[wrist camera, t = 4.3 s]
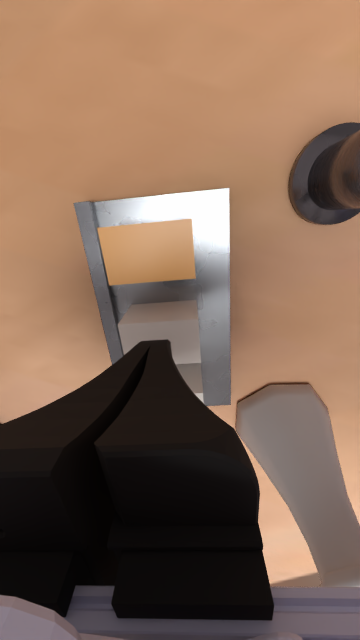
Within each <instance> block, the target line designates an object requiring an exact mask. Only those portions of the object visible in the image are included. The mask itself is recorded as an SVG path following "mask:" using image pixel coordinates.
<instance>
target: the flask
mask: <svg viewBox="0 0 360 640" xmlns="http://www.w3.org/2000/svg"><path fill="white" fill-rule="evenodd" d="M236 432H237V433H238V435H239V436H240V438H241V439H242V440H243V442H244V443H245V445H246V446H247V447H248V449H249V450H250V452H251V453H252V454H253V456H254V457H255V458H256V460H257V461H258V463H259V464H260V465H261V467H262V468H263V470H264V471H265V473H266V474H267V476H268V477H269V479H270V480H271V482H272V483H273V485H274V486H275V488H276V489H277V491H278V492H279V494H280V495H281V497H282V498H283V500H284V501H285V502H286V504H287V505H288V507H289V509H290V511H291V513H292V515H293V517H294V519H295V521H296V523H297V525H298V527H299V529H300V530H301V532H302V534H303V536H304V538H305V540H306V542H307V544H308V546H309V549H310V552H311V554H312V557H313V560H314V562H315V565H316V568H317V570H318V573H319V576H320V579H321V584H320V587H360V525H359V523H358V520H357V518H356V515H355V513H354V510H353V508H352V505H351V503H350V500H349V498H348V495H347V491H346V487H345V483H344V479H343V475H342V471H341V467H340V463H339V459H338V455H337V451H336V446H335V441H334V436H333V431H332V426H331V421H330V417H329V413H328V408H327V407H326V406H325V404H324V403H323V402H322V400H321V399H320V398H319V396H318V395H317V393H316V392H315V391H314V389H313V388H312V387H311V385H310V384H292V385H269V386H267V387H265V388H263V389H262V390H260V391H258V392H256V393H255V394H253V395H251V396H249V397H248V398H246V399H244V400H242V401H241V402H239V403H237V418H236Z"/></svg>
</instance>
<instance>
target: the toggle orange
mask: <svg viewBox="0 0 360 640" xmlns="http://www.w3.org/2000/svg"><path fill="white" fill-rule="evenodd" d="M97 230H98V234H99V239H100V244H101V249H102V253H103V258H104V263H105V268H106V272H107V277H108V282H109V285H122V284H134V283H147V282H159V281H171V280H184V279H196V276H195V260H194V245H193V229H192V219H181V220H171V221H161V222H151V223H141V224H130V225H120V226H110V227H100V228H97Z"/></svg>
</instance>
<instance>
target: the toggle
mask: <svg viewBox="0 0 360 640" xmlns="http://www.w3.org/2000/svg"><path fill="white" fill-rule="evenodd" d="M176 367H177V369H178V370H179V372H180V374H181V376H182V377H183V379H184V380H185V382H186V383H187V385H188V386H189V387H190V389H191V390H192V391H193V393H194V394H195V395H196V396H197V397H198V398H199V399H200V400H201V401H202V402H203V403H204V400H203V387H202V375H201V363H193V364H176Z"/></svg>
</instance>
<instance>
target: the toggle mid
mask: <svg viewBox="0 0 360 640" xmlns="http://www.w3.org/2000/svg"><path fill="white" fill-rule="evenodd" d="M118 329H119V334H120V338H121V343H122V348H123V353H124V355H125V354H126V353H127V352H128V351H130V350H131V349H132V348H133V347H134V346H135V345H137V344H138V343H139V342H140V341H149V340H165V339H168V340H169V341H170V342H171V350H172V357H173V360H174V362H175V364H190V363H201V353H200V338H199V322H198V311H197V301H196V300H187V301H174V302H161V303H147V304H134V305H131V306H130V307H129V309H128V310H127V312H126V313H125V315H124V316H123V318H122V319H121V321H120V322H119V323H118Z"/></svg>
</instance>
